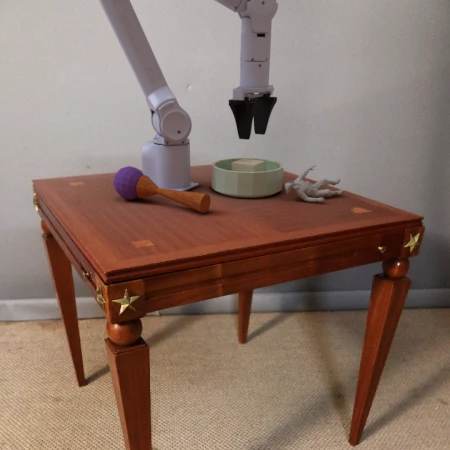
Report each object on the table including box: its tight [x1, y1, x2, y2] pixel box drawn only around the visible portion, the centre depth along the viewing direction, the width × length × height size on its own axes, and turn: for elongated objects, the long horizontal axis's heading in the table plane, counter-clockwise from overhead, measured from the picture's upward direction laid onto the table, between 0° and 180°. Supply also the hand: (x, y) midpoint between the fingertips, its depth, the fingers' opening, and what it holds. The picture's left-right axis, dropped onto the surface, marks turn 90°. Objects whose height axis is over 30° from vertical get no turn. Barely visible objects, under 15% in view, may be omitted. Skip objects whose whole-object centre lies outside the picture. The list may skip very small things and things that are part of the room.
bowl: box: [211, 157, 284, 199], centre depth 100 cm, size 14×14×5 cm
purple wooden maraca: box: [113, 165, 212, 214], centre depth 90 cm, size 6×6×20 cm
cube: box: [232, 159, 265, 172], centre depth 100 cm, size 5×5×5 cm
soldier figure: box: [284, 165, 344, 203], centre depth 96 cm, size 8×5×12 cm
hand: (252, 136), depth 102 cm, fingers open, 7 cm apart
